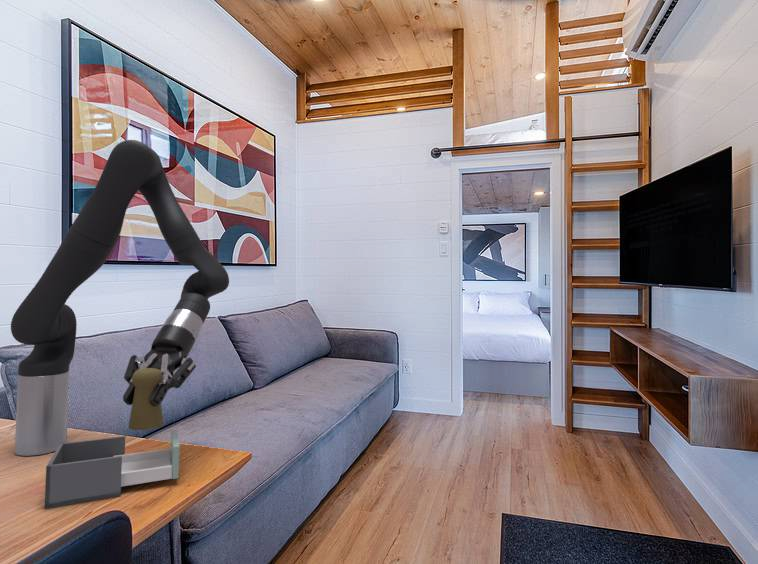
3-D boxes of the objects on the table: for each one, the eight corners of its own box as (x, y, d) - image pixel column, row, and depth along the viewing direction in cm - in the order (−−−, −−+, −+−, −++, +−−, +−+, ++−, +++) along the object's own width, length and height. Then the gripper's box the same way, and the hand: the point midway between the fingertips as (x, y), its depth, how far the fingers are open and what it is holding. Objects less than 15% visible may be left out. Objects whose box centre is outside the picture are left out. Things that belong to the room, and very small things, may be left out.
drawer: (175, 458, 92) (176, 429, 92) (178, 478, 82) (179, 446, 82) (113, 466, 86) (114, 436, 87) (108, 489, 77) (109, 455, 77)
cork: (152, 430, 81) (153, 372, 82) (121, 429, 82) (122, 371, 82) (169, 420, 87) (170, 366, 88) (140, 420, 88) (141, 365, 88)
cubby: (124, 470, 88) (125, 435, 88) (120, 496, 77) (121, 456, 77) (58, 480, 83) (59, 443, 83) (44, 509, 72) (46, 466, 72)
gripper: (140, 322, 93) (95, 391, 81) (203, 324, 91) (166, 395, 79) (155, 343, 98) (115, 411, 86) (215, 346, 97) (182, 415, 84)
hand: (140, 403), depth 83 cm, fingers closed on cork, 4 cm apart
